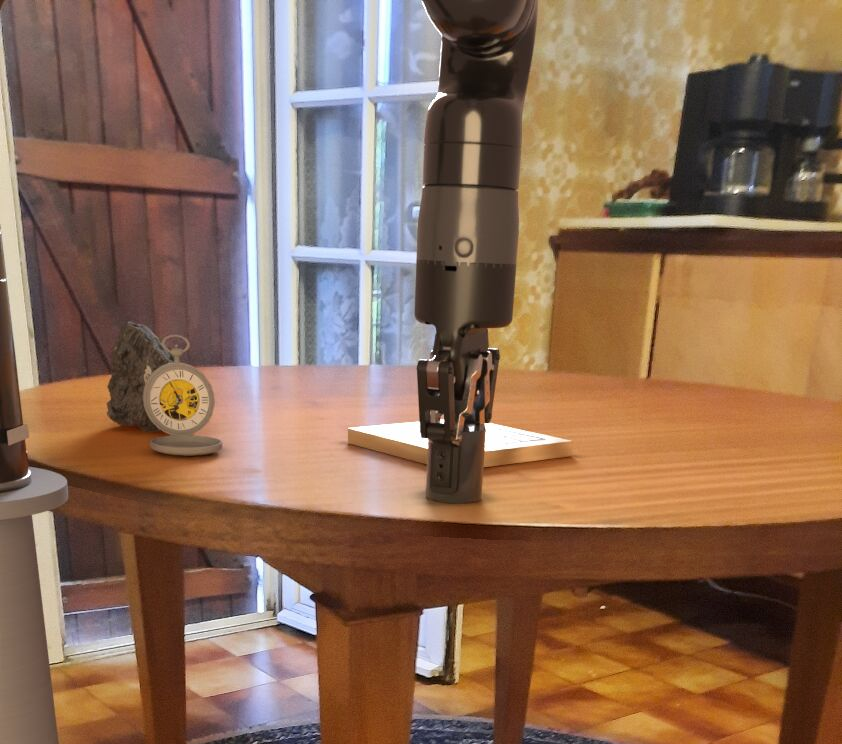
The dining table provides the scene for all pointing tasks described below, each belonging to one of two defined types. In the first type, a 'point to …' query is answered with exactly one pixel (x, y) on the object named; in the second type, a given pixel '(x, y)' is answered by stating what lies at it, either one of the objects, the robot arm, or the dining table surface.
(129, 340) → the rock
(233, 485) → the dining table surface
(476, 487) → the cylinder
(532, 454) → the board
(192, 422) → the pocket watch
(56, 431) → the dining table surface
